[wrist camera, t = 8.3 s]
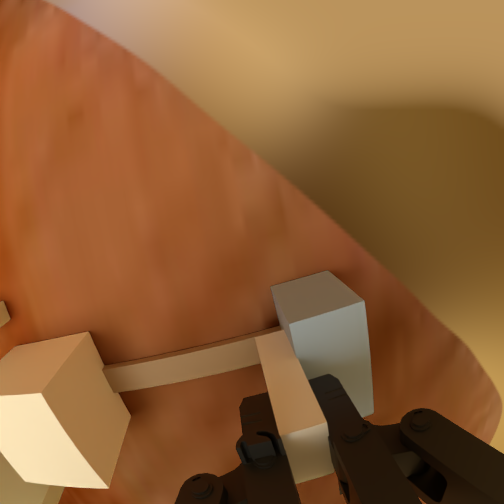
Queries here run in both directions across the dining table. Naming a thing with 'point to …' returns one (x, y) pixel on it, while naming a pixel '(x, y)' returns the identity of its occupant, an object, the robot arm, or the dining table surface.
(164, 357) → the tethered block
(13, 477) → the shelf lane
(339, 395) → the robot arm
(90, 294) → the dining table surface
